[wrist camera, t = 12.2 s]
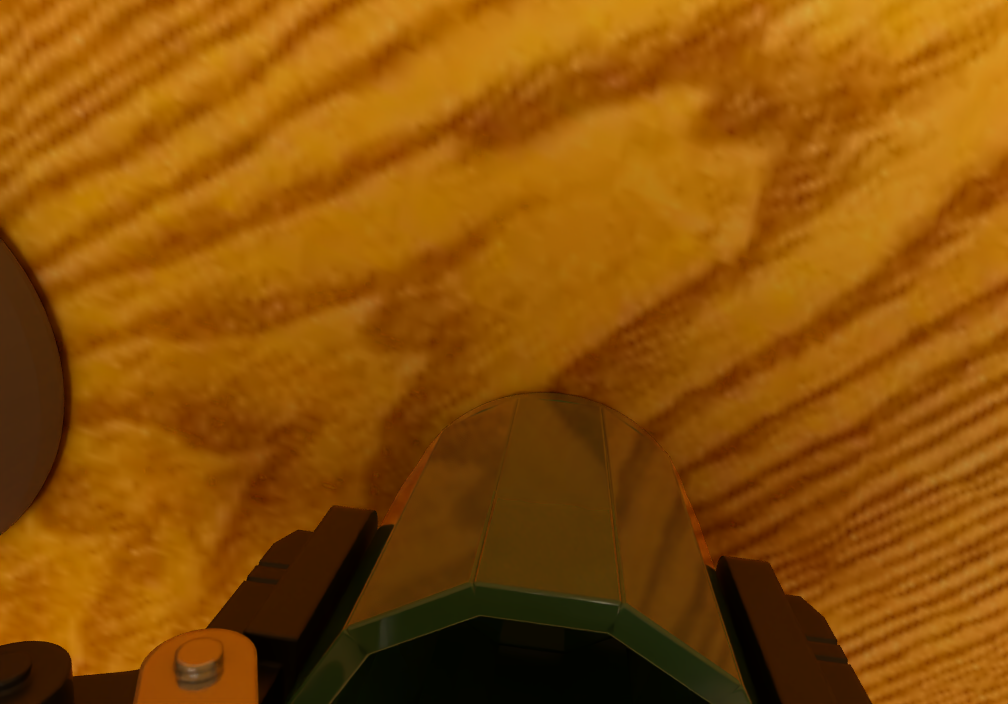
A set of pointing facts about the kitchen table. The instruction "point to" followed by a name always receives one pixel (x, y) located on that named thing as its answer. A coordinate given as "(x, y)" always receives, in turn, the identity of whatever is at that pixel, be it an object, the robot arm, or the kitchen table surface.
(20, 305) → the mug
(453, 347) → the kitchen table surface
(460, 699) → the green faceted cup
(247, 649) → the robot arm
